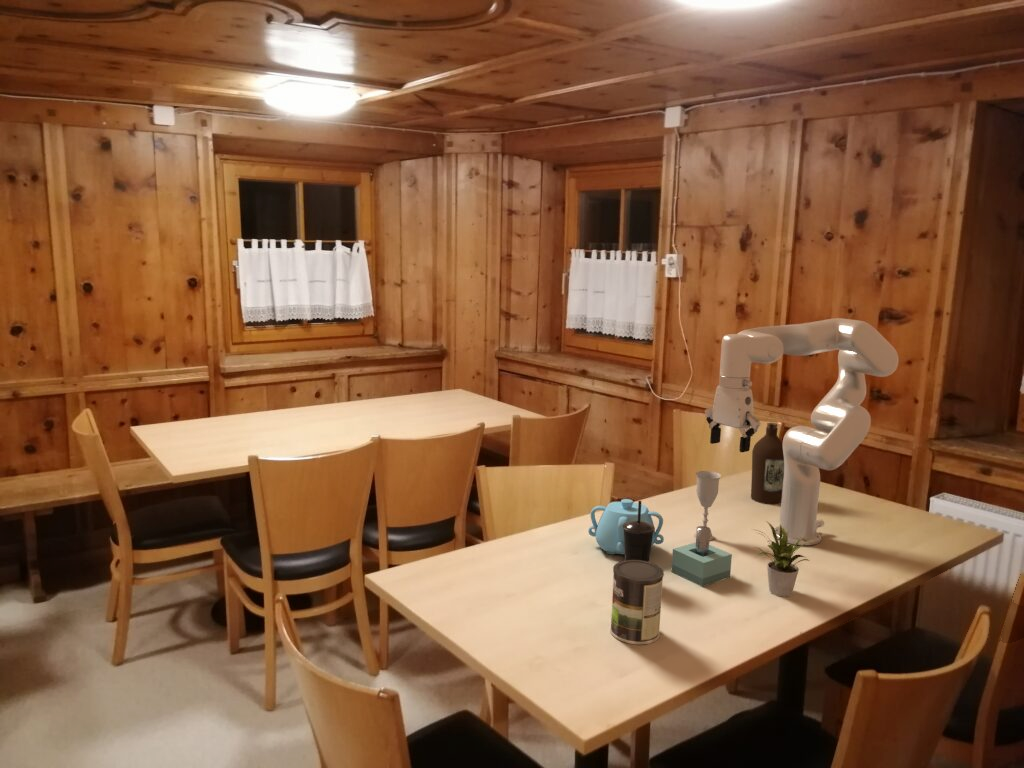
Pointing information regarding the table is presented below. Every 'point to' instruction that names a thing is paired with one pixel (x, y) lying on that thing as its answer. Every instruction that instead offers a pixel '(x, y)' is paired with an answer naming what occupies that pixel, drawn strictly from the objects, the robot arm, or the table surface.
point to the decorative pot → (620, 524)
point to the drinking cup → (638, 538)
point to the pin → (702, 541)
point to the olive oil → (768, 468)
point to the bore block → (701, 564)
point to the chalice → (707, 491)
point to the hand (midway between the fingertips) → (729, 447)
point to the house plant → (782, 564)
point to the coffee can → (636, 601)
